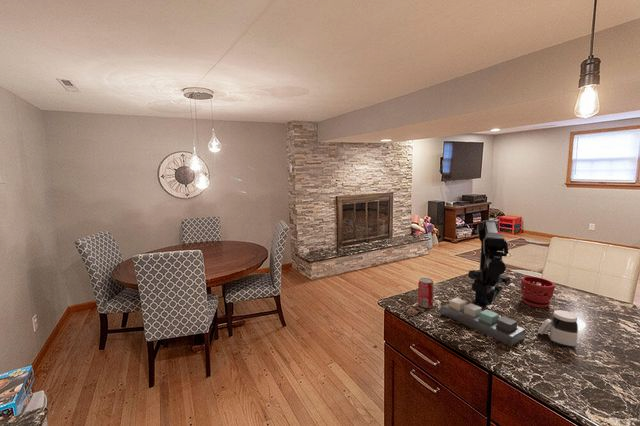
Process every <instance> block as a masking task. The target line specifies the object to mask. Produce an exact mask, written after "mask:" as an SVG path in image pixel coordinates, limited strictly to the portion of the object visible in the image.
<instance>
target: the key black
mask: <svg viewBox="0 0 640 426" xmlns="http://www.w3.org/2000/svg"><path fill="white" fill-rule="evenodd" d="M498 318H499V319H497V328H499V329H502V330H504V331H506V332H509V333H512V332H514V331H516V330H517V326H518V321H517V320H514V319H512V318H509V317H507V316H505V315H504V316H501V317H498Z"/></svg>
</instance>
